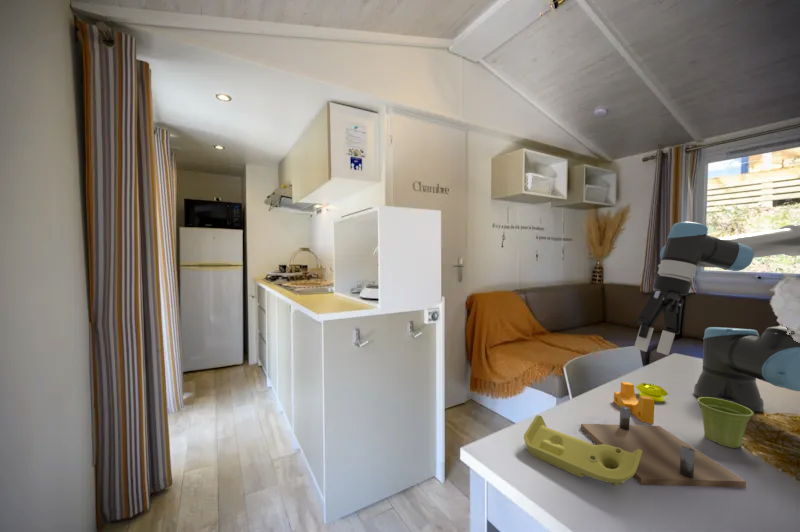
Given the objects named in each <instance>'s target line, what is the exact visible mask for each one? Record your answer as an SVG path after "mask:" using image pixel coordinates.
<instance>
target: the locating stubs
mask: <svg viewBox="0 0 800 532" xmlns="http://www.w3.org/2000/svg"><path fill="white" fill-rule="evenodd" d="M630 419H631V412H630V408H628V407H625V406H621V407H619V425H620V426H619V427H620V428H621V429H624V430H629V425H631V424H630V421H631V420H630ZM694 458H695V451H694V450H693V449H691V448H689V447H685V446H682V447H681V456H680V474H681V475H683V476H685V477H688V478H693V477H694Z"/></svg>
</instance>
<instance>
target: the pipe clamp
mask: <svg viewBox="0 0 800 532" xmlns="http://www.w3.org/2000/svg"><path fill="white" fill-rule="evenodd" d="M613 403H614V404H615V405H616V406H618V407H619V408H620V407H621V406H625V407H628V408H630V414H632V415H633V416H634V417H636V418H637V419H638V420H640V421H641V423H646V424H654V420H655V400H654V399H653V398H651V397H647V396H639V398H638V399H637V396H636V392H635V385H634V384H633V383H632V382H628V381H627V382H626V381H620V391H614V392H613Z"/></svg>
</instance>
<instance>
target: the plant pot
mask: <svg viewBox="0 0 800 532" xmlns="http://www.w3.org/2000/svg"><path fill="white" fill-rule="evenodd" d="M696 400H697V402H698V404H699V408H700V409H701V416H702V421H703V422H702V423H703V431H704V436H705V437H706V438H707V439H708V440H709V441H712V442H716V443H718V444H719V445H721V446H724V447H728V448H734V449H735V448H739V447H741V446H742V443H743V439H744V437H745V436H744V435H745V431H746V429H747V425H748V422H749V421H750V419H751V417H753V416H754V413H755V412H753V411H752V410H750V409H749V408H747V407H745V406H742V405H740V404H737V403H734V402H731V401H727V400H723V399H718V398H711V397H700V398H699V397H697V399H696Z"/></svg>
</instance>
